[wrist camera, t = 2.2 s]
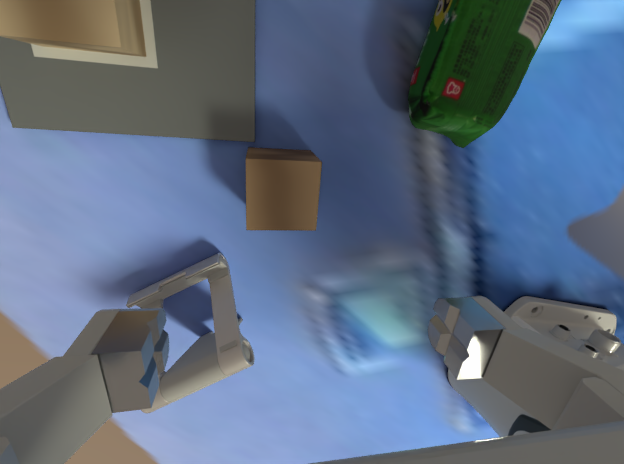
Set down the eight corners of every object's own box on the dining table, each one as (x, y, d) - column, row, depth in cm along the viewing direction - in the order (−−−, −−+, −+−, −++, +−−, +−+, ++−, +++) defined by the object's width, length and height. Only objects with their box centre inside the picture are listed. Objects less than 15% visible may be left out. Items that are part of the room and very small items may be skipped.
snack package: (551, -75, 21) (635, -126, 16) (457, 147, 27) (499, 156, 22) (468, -122, 20) (534, -194, 15) (385, 125, 25) (413, 130, 20)
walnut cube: (310, 150, 25) (321, 162, 20) (306, 207, 27) (316, 230, 22) (248, 147, 24) (245, 158, 19) (248, 206, 26) (246, 230, 21)
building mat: (255, -100, 18) (255, -107, 18) (254, 140, 24) (254, 142, 23) (-65, -163, 15) (-79, -175, 15) (19, 126, 21) (11, 127, 20)
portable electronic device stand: (219, 248, 27) (204, 307, 19) (260, 310, 30) (261, 380, 23) (134, 289, 27) (85, 362, 20) (184, 345, 31) (160, 427, 23)
